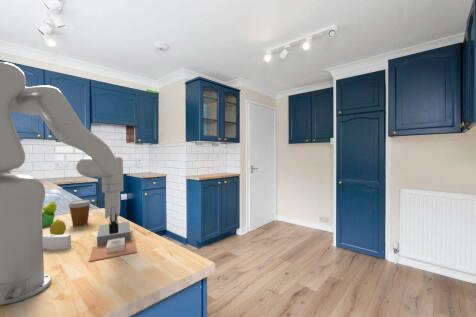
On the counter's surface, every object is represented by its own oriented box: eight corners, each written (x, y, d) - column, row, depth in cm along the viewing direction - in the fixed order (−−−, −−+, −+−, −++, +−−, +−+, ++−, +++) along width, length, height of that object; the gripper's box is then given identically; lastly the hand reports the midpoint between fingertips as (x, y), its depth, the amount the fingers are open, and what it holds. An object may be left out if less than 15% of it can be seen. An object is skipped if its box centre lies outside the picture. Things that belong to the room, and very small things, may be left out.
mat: (136, 252, 84) (136, 251, 84) (88, 262, 77) (88, 260, 77) (134, 240, 96) (134, 239, 96) (92, 247, 89) (92, 246, 89)
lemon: (57, 240, 97) (56, 221, 96) (46, 239, 98) (46, 221, 97) (69, 235, 102) (68, 218, 102) (59, 234, 103) (58, 217, 103)
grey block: (130, 241, 95) (130, 231, 95) (97, 247, 90) (96, 237, 90) (129, 229, 109) (128, 221, 109) (100, 234, 104) (99, 225, 104)
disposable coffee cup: (88, 226, 115) (88, 202, 115) (66, 228, 111) (65, 204, 111) (93, 220, 124) (92, 199, 123) (72, 222, 120) (71, 200, 120)
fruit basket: (34, 223, 120) (33, 202, 120) (55, 219, 126) (55, 199, 126) (35, 228, 112) (35, 206, 111) (58, 224, 118) (57, 203, 118)
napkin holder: (79, 247, 91) (79, 233, 91) (44, 258, 81) (44, 243, 81) (62, 239, 99) (62, 226, 98) (28, 249, 89) (27, 235, 89)
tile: (124, 249, 86) (124, 244, 86) (106, 253, 83) (106, 247, 83) (124, 241, 94) (124, 236, 94) (108, 244, 91) (108, 239, 91)
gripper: (103, 185, 95) (104, 229, 96) (100, 191, 82) (101, 241, 83) (123, 184, 99) (123, 226, 99) (123, 189, 86) (124, 237, 86)
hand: (113, 232), depth 91 cm, fingers closed
